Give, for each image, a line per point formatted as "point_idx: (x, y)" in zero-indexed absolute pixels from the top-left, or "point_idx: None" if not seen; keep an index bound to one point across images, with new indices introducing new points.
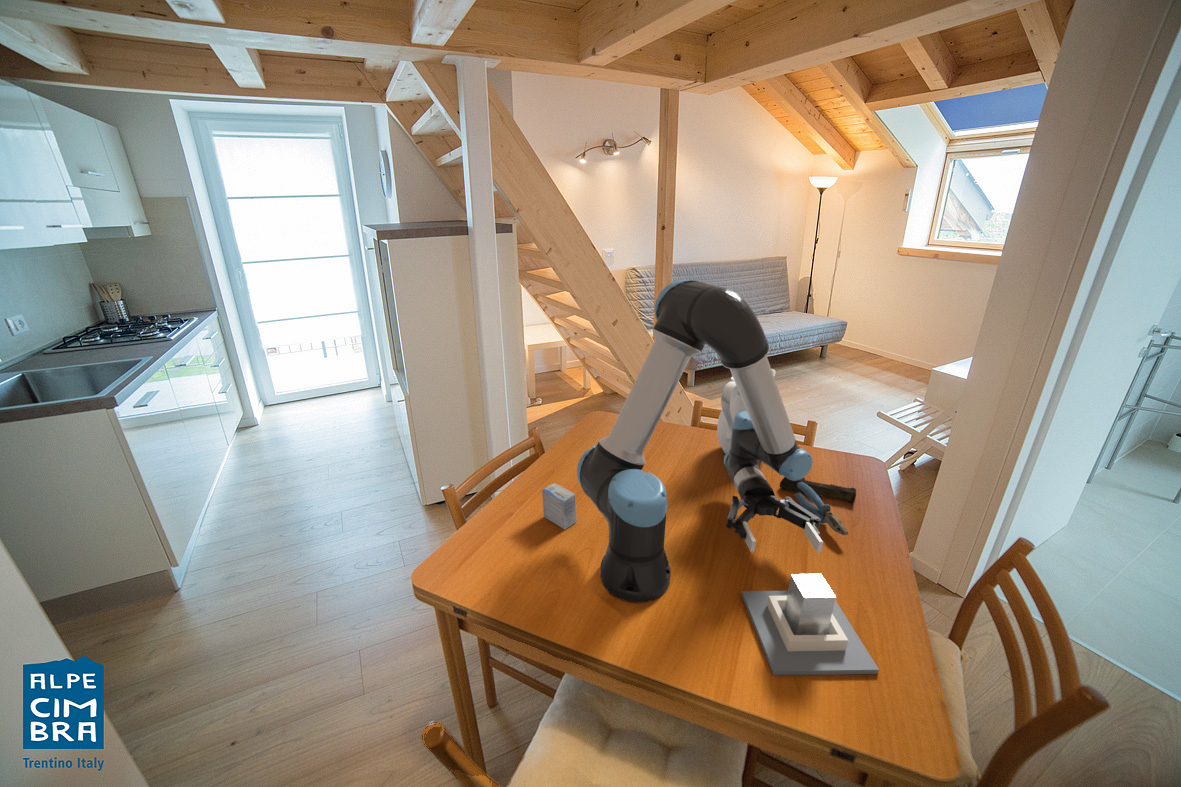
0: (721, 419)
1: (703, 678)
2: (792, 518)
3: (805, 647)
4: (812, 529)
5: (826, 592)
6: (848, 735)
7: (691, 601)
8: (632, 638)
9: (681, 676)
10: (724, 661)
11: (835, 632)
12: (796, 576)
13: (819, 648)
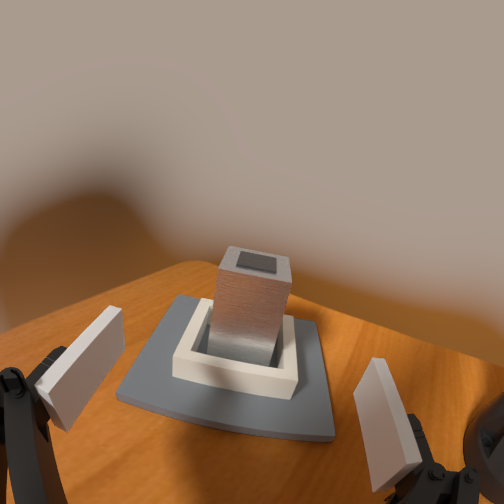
0: None
1: (390, 337)
2: (54, 489)
3: None
4: (74, 352)
5: (239, 252)
6: None
7: (423, 426)
8: (468, 373)
9: (411, 340)
10: (370, 347)
11: (207, 313)
12: (281, 278)
13: None
